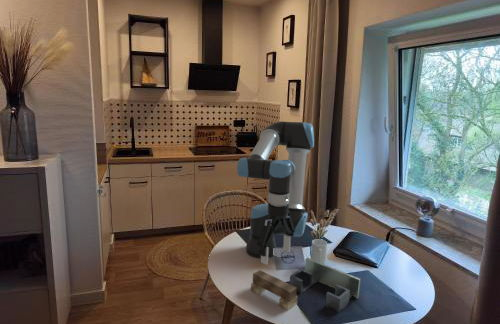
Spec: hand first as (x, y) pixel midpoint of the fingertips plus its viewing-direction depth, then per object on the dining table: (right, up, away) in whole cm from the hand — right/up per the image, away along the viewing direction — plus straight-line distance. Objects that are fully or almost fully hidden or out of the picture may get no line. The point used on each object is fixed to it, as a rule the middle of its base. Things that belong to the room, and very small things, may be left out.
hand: (275, 257), depth 131 cm
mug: (+21, -12, +26) cm, 35 cm away
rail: (-1, -13, +3) cm, 14 cm away
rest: (-1, -16, +4) cm, 17 cm away
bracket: (+19, -16, +8) cm, 26 cm away
